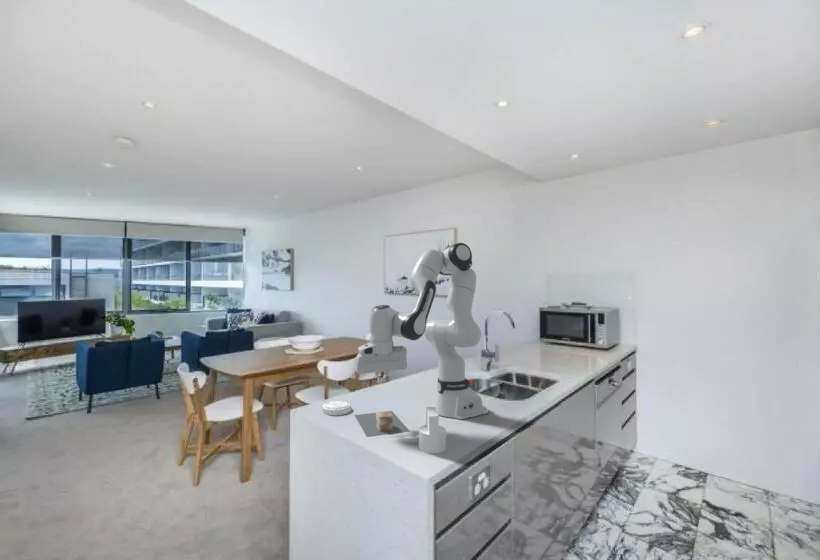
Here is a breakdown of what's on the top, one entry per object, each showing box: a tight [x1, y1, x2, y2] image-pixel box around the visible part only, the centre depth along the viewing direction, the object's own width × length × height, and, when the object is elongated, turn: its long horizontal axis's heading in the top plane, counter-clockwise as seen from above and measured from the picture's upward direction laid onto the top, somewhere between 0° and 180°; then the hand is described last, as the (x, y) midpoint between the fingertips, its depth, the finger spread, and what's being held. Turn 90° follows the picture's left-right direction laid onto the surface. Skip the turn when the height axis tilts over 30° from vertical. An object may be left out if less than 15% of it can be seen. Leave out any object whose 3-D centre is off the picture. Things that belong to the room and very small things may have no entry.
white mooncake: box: [321, 399, 352, 416], centre depth 162 cm, size 12×12×4 cm
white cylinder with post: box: [418, 406, 447, 455], centre depth 128 cm, size 9×9×12 cm
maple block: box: [375, 411, 393, 431], centre depth 143 cm, size 5×5×5 cm
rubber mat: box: [354, 410, 410, 438], centre depth 148 cm, size 16×23×1 cm
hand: (381, 382), depth 149 cm, fingers closed
